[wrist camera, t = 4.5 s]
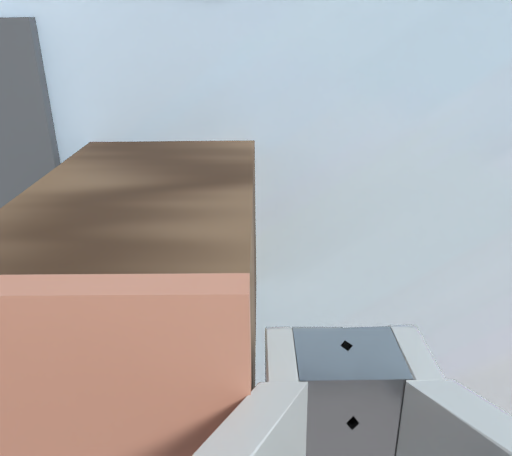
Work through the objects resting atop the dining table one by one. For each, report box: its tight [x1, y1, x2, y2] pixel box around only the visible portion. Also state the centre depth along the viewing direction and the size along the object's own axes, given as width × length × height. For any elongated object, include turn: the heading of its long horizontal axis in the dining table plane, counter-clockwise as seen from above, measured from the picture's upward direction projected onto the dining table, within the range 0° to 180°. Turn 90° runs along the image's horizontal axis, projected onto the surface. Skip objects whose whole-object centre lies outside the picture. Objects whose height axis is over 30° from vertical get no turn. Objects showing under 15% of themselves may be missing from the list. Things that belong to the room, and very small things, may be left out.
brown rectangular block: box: [0, 141, 256, 456], centre depth 12 cm, size 5×5×9 cm
